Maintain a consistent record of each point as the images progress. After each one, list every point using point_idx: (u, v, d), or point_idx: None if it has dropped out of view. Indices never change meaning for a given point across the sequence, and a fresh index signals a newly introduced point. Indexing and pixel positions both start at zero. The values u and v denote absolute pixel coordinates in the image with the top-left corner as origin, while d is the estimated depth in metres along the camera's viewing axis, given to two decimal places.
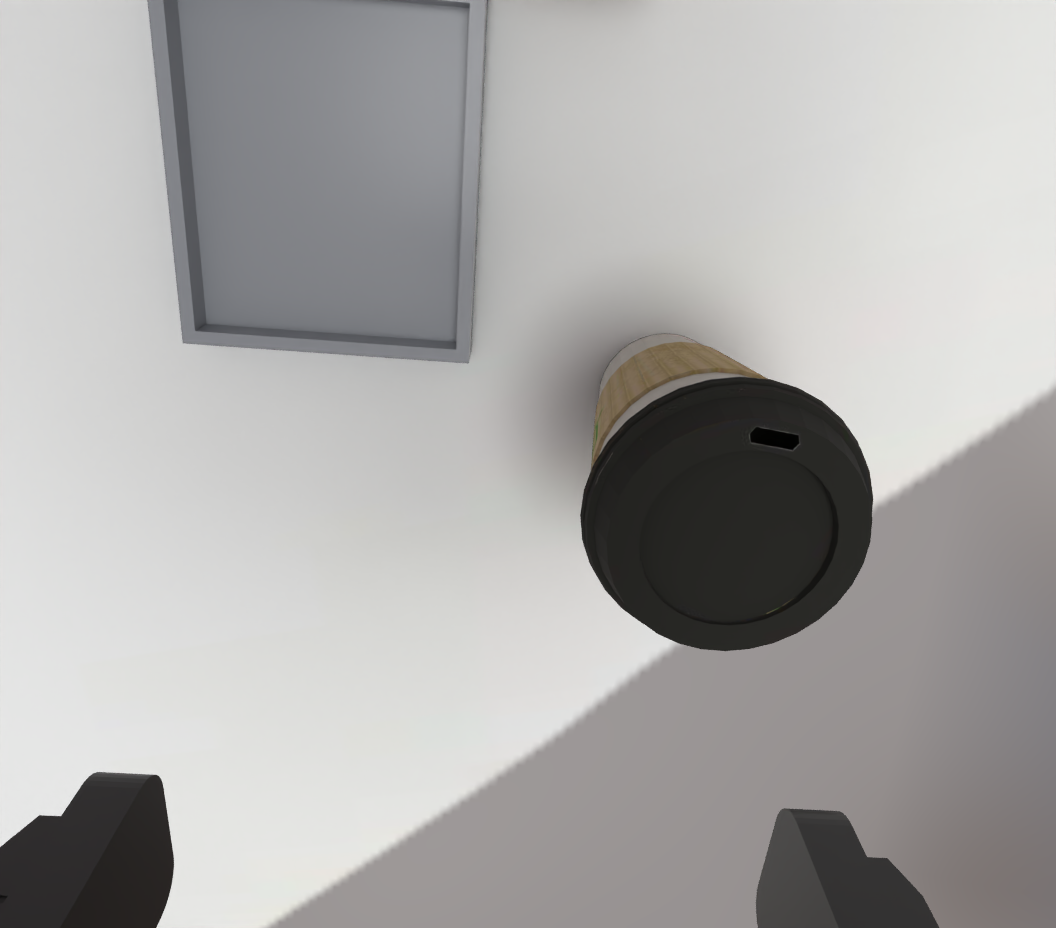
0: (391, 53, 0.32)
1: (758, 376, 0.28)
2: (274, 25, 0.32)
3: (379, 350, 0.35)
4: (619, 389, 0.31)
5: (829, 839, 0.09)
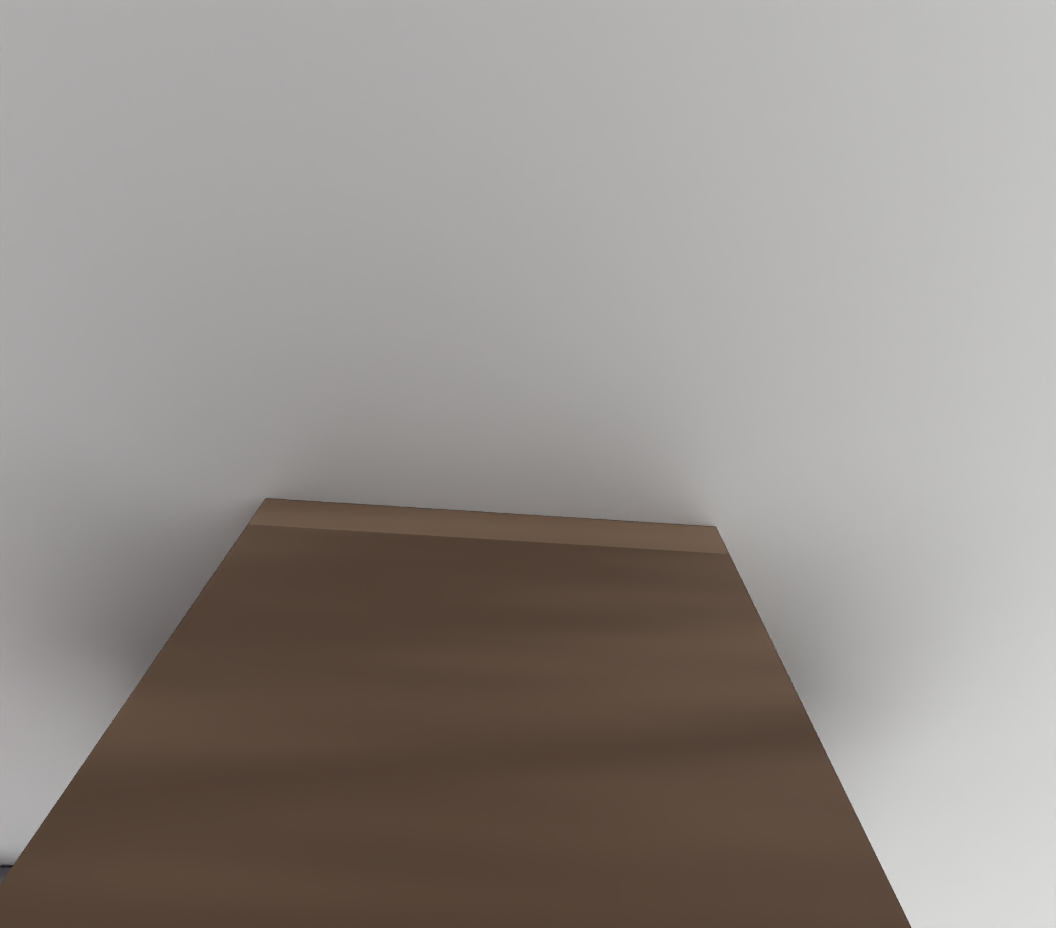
0: None
1: None
2: None
3: None
4: None
5: None
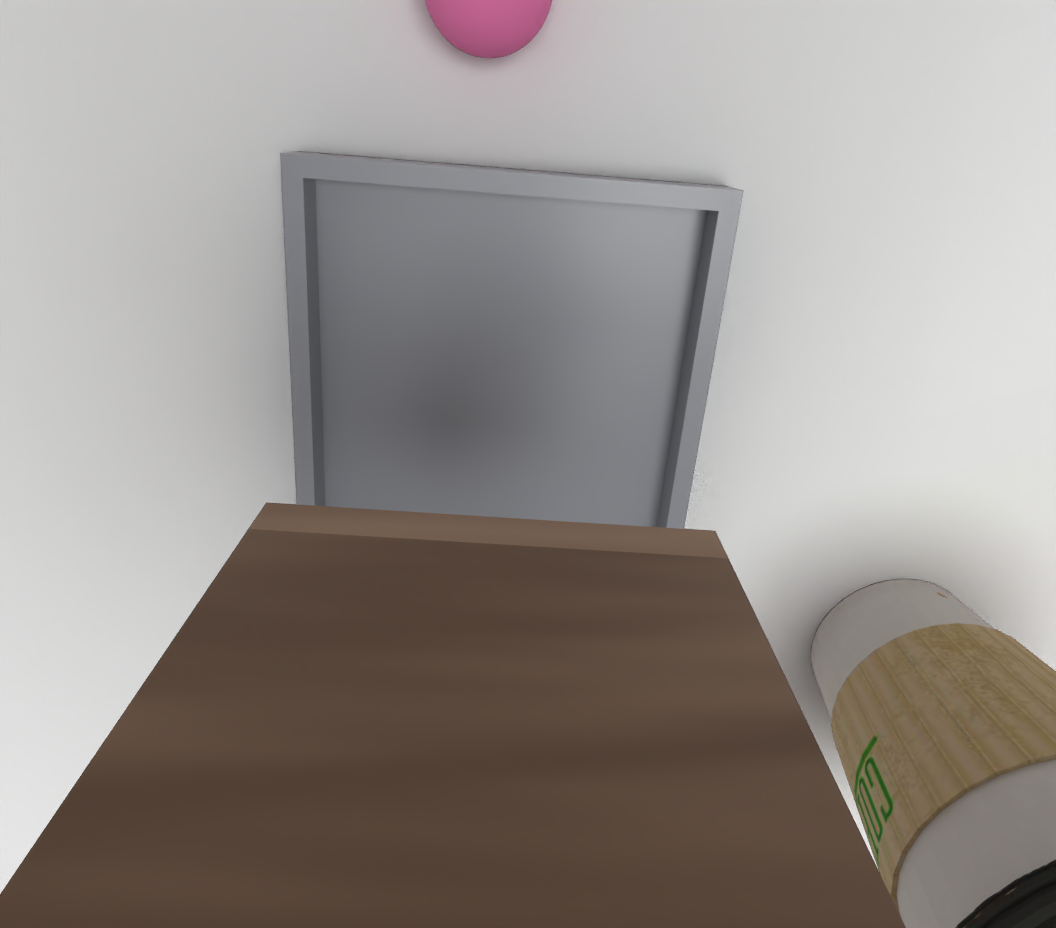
0: (594, 261, 0.24)
1: None
2: (442, 227, 0.24)
3: None
4: (911, 723, 0.23)
5: None
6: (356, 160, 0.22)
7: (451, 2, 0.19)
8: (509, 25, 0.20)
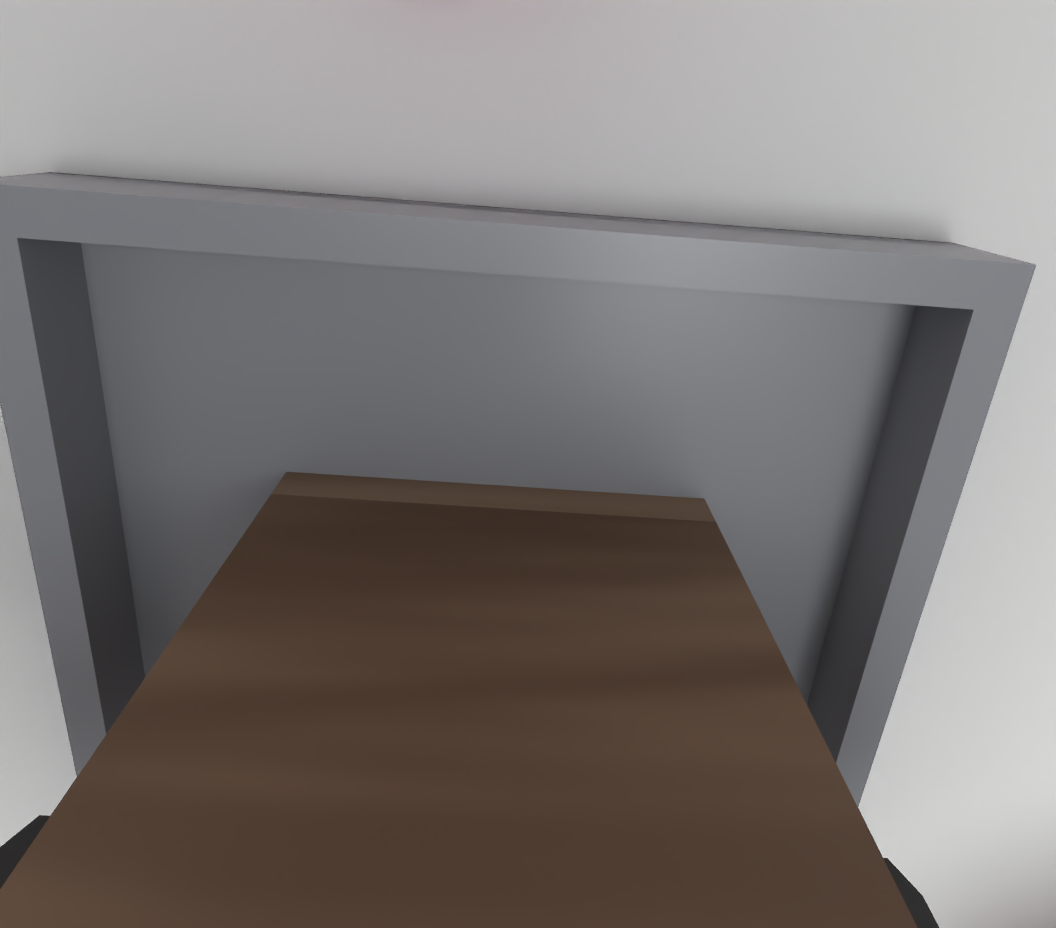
0: (677, 398, 0.12)
1: None
2: (360, 332, 0.11)
3: None
4: None
5: None
6: (138, 197, 0.09)
7: None
8: None
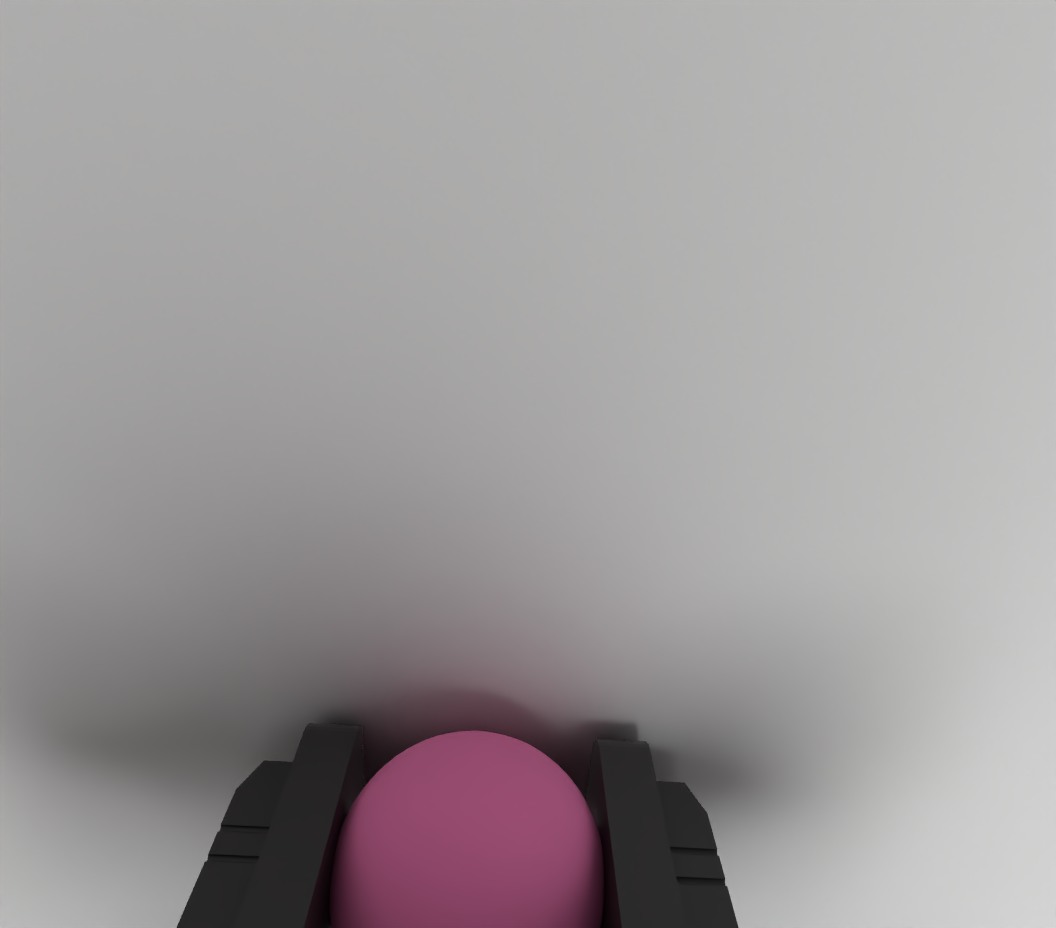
0: None
1: None
2: None
3: None
4: None
5: (625, 763, 0.10)
6: None
7: None
8: None
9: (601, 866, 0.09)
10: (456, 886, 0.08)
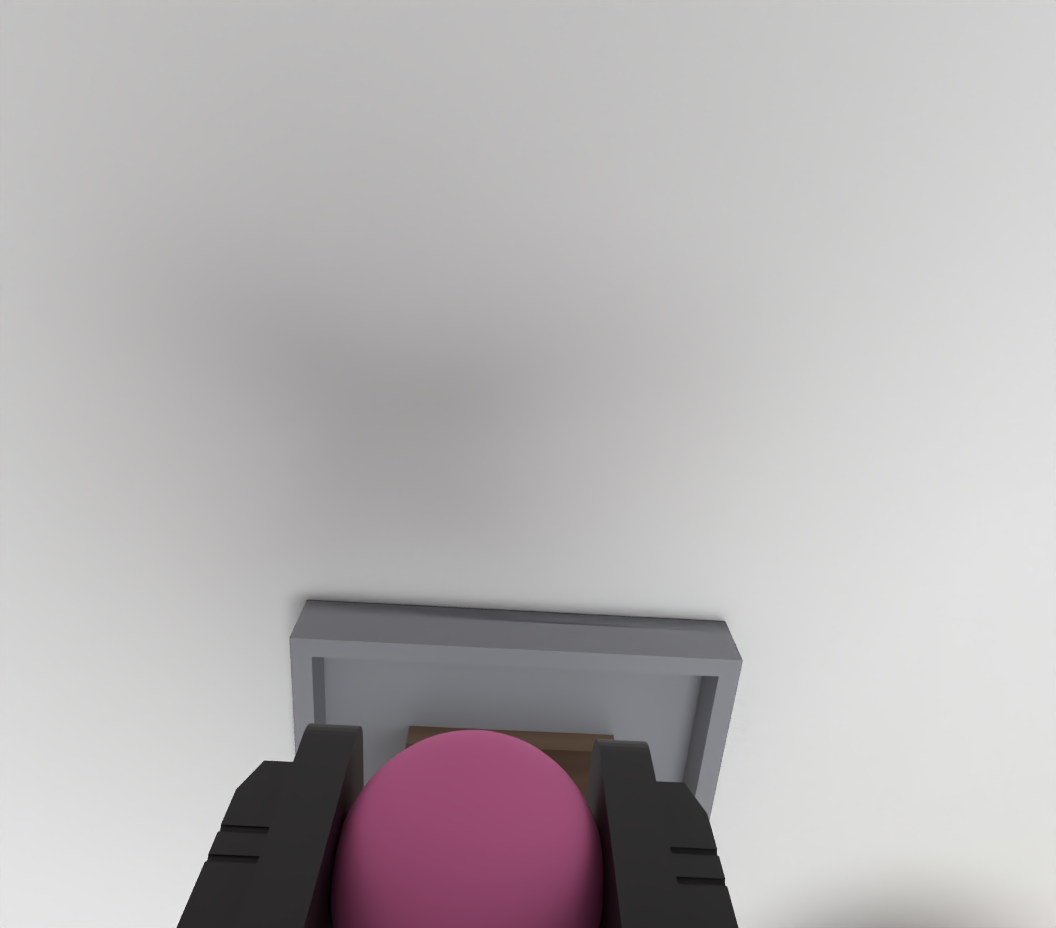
0: (597, 693, 0.25)
1: None
2: (448, 668, 0.24)
3: None
4: None
5: (625, 762, 0.10)
6: (364, 642, 0.22)
7: None
8: None
9: (600, 864, 0.09)
10: (456, 885, 0.08)
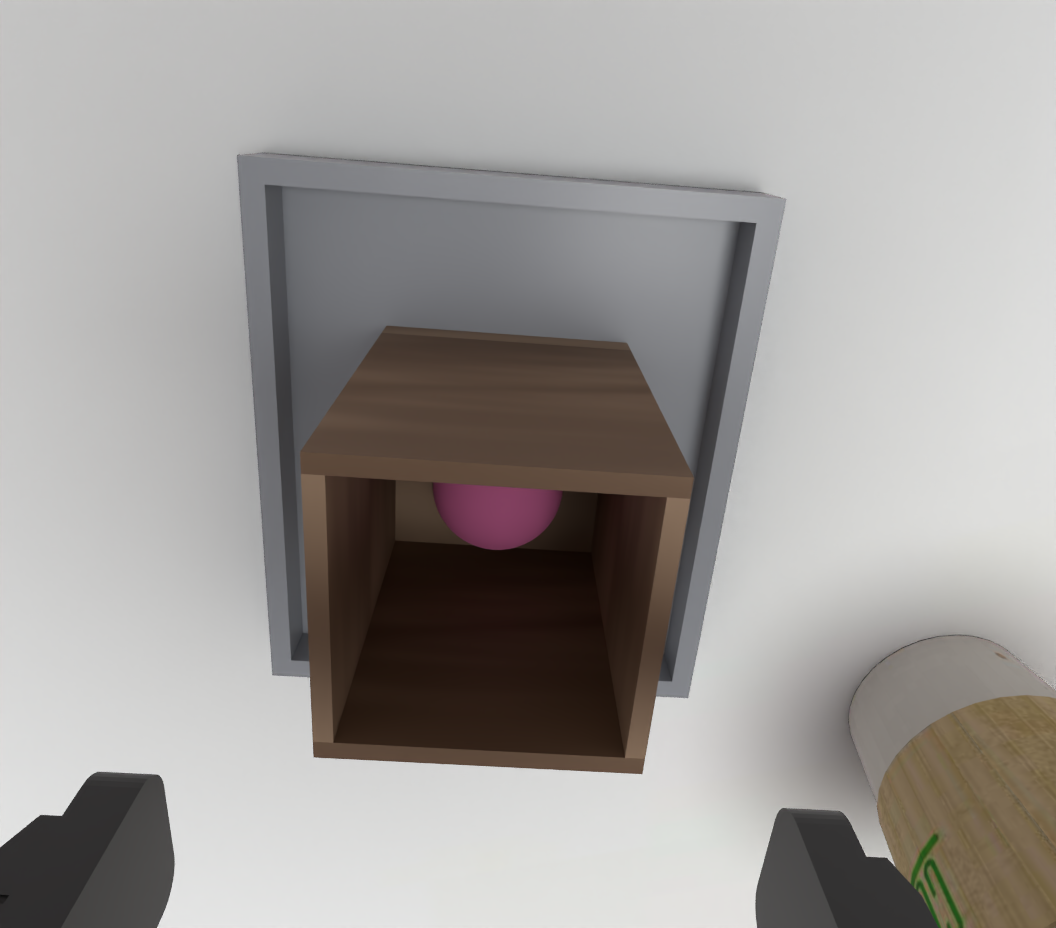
0: (608, 281, 0.21)
1: None
2: (431, 242, 0.20)
3: None
4: (981, 823, 0.20)
5: (828, 838, 0.09)
6: (327, 163, 0.18)
7: (463, 528, 0.19)
8: (520, 541, 0.20)
9: None
10: None
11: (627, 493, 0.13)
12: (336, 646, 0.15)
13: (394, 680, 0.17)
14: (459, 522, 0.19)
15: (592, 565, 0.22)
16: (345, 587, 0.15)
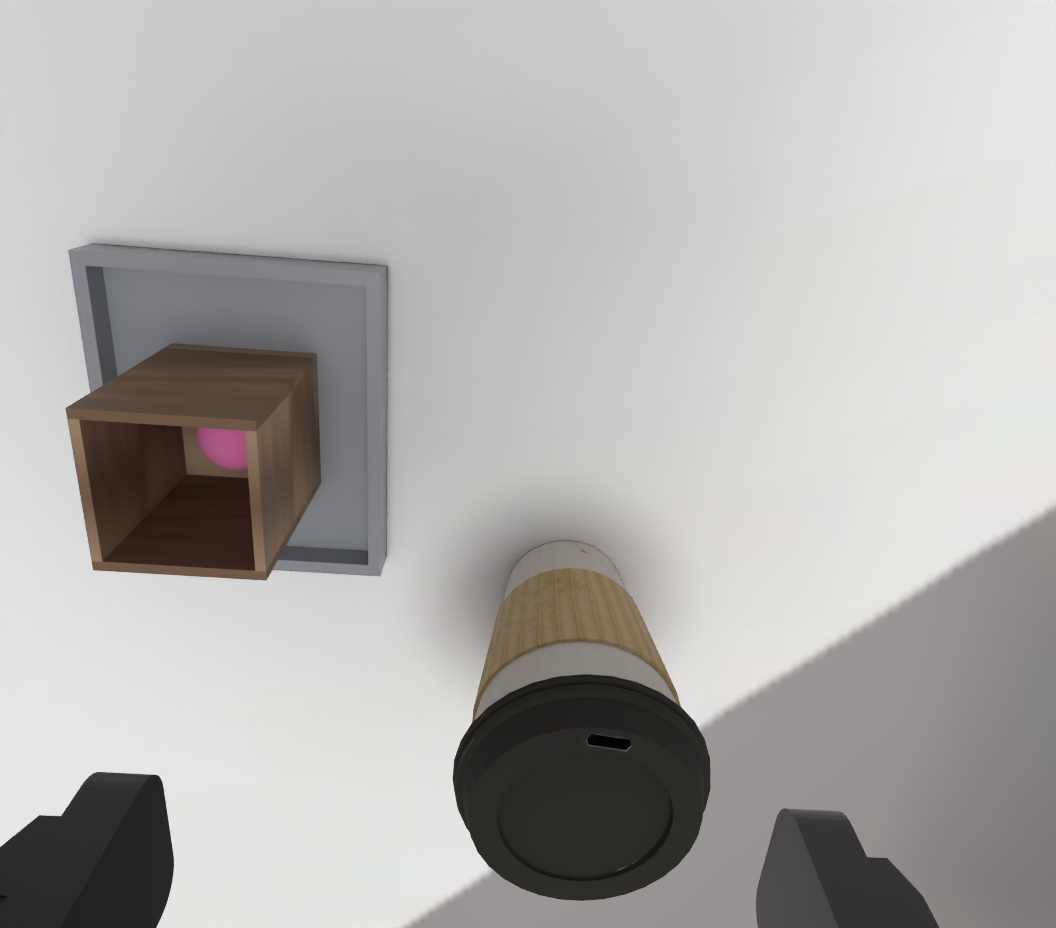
0: (300, 317, 0.35)
1: (617, 644, 0.31)
2: (192, 294, 0.35)
3: (297, 565, 0.39)
4: (504, 631, 0.34)
5: (829, 839, 0.09)
6: (119, 254, 0.33)
7: (213, 453, 0.33)
8: None
9: None
10: None
11: (225, 428, 0.28)
12: (101, 510, 0.29)
13: (148, 538, 0.32)
14: (210, 450, 0.33)
15: None
16: (110, 482, 0.30)
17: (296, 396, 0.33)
